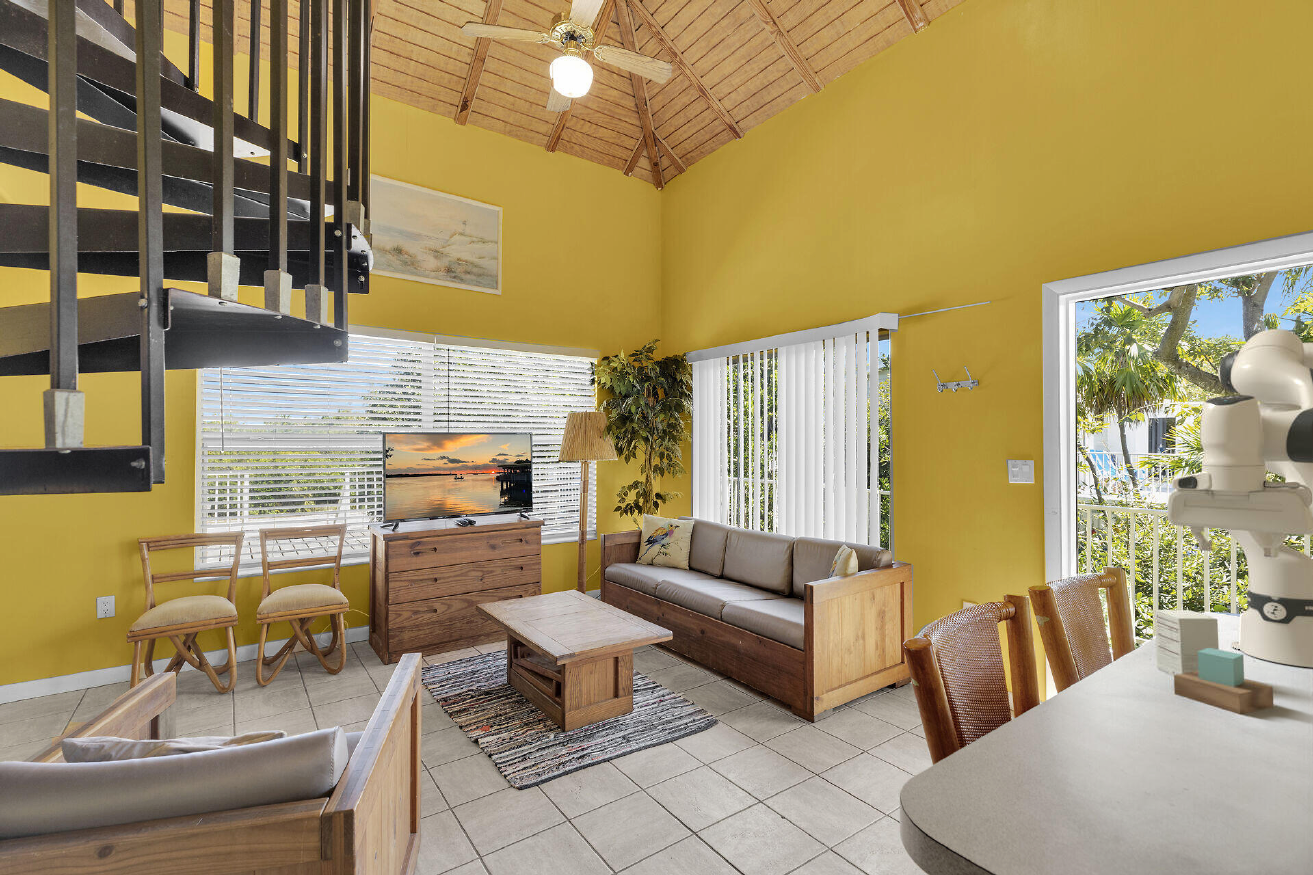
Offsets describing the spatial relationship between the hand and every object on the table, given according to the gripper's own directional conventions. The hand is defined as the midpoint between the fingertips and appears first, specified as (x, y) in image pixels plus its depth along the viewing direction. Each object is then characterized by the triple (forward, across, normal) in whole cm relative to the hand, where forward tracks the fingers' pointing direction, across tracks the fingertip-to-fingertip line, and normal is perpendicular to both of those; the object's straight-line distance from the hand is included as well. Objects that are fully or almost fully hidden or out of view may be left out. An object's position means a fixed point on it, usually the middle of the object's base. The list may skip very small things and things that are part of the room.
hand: (1237, 553), depth 116 cm
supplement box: (+27, +10, -4) cm, 29 cm away
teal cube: (+23, +1, +6) cm, 24 cm away
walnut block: (+27, +1, +6) cm, 28 cm away
